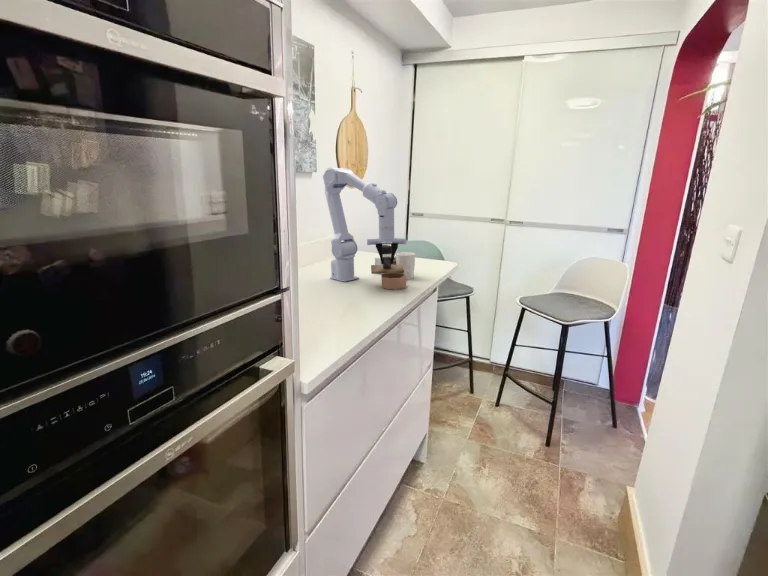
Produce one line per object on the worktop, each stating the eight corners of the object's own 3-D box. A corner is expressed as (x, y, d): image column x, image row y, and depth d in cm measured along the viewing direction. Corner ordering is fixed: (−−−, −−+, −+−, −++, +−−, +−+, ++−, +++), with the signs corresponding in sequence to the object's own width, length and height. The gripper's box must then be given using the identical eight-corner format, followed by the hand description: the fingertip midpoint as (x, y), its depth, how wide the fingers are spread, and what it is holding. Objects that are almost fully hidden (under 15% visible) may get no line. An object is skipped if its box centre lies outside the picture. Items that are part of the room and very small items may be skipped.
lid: (371, 273, 155) (371, 260, 154) (371, 267, 166) (370, 254, 165) (404, 272, 155) (404, 260, 154) (401, 266, 167) (401, 254, 166)
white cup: (415, 275, 180) (415, 252, 177) (414, 279, 173) (414, 255, 170) (396, 275, 181) (396, 251, 178) (395, 279, 173) (395, 255, 171)
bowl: (376, 286, 163) (376, 275, 162) (392, 282, 169) (392, 271, 168) (394, 290, 157) (394, 279, 155) (410, 286, 163) (410, 274, 162)
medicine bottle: (388, 275, 181) (388, 247, 177) (374, 273, 184) (374, 246, 181) (397, 272, 186) (397, 244, 183) (383, 270, 190) (383, 243, 187)
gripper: (366, 229, 153) (367, 266, 156) (407, 228, 153) (407, 265, 157) (366, 226, 160) (367, 262, 163) (405, 226, 160) (405, 261, 163)
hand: (387, 263), depth 160 cm, fingers closed on lid, 3 cm apart
